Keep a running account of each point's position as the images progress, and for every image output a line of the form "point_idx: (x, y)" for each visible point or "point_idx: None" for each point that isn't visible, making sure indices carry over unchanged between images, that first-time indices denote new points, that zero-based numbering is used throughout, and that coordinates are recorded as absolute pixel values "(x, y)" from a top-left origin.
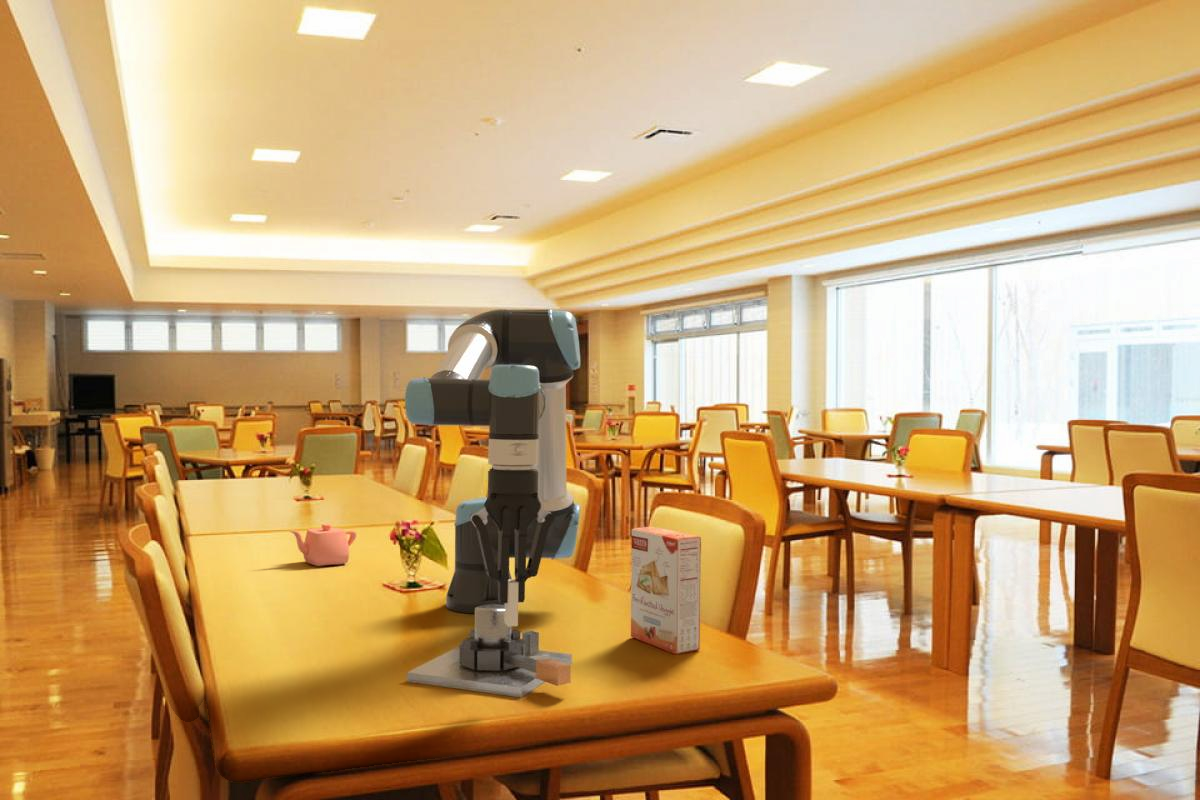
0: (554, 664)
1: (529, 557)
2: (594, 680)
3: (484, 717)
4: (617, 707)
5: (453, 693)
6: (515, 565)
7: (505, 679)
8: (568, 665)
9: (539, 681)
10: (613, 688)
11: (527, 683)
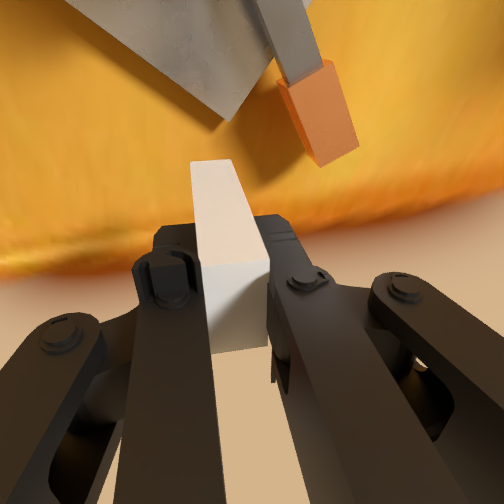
0: (325, 129)
1: (464, 386)
2: (434, 14)
3: (137, 220)
4: (380, 208)
5: (45, 33)
6: (294, 369)
7: (197, 35)
8: (354, 145)
9: None
10: (435, 95)
11: (249, 89)
